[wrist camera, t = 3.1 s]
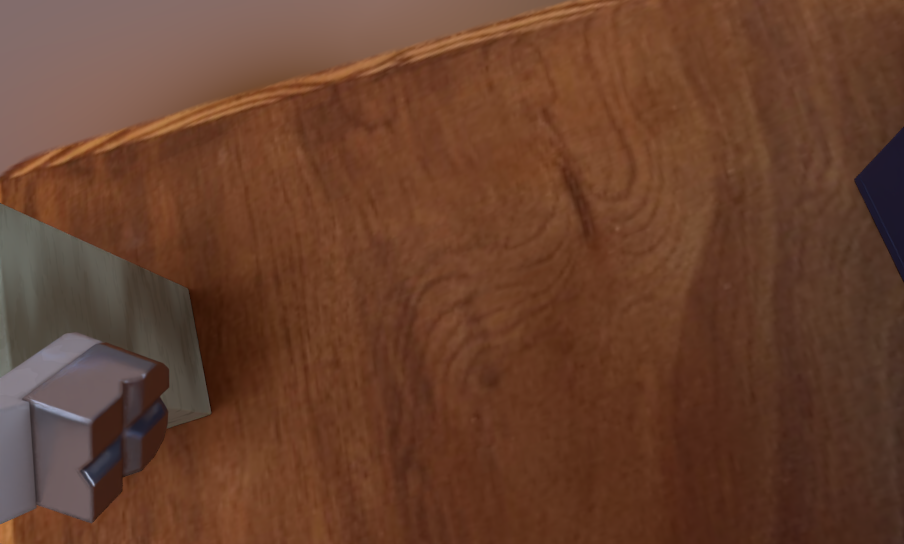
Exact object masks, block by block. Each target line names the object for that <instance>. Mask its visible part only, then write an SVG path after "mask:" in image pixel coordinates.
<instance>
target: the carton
mask: <svg viewBox="0 0 904 544" xmlns="http://www.w3.org/2000/svg"><path fill="white" fill-rule="evenodd" d="M854 180H855V183H856V185H857V187H858V189H859V191H860V193H861V195H862V197H863V199H864V201H865V203H866V205H867V207H868V209H869V211H870V213H871V215H872V217H873V219H874V221H875V224H876V226H877V228H878V230H879V232H880V234H881V236H882V238H883V240H884V242H885V244H886V246H887V248H888V250H889V252H890V254H891V256H892V258H893V260H894V262H895V265H896V267H897V269H898V271H899V273H900V275H901V277H902V279H903V281H904V127H903V128H902V129H901V130H900V131H899V132H898V133H897V134H896V136H895V137H894V138H893V139H892V140H891V141H890V142H889V143H888V144H887V145H886V146H885V147H884V148H883V149H882V150H881V152H880V153H879V154H878V155H877V156H876V157H875V158H874V159H873V160H872V161H871V162H870V163H869V164H868V165H867V166H866V167H865V169H864V170H863V171H862V172H861V173H860V174H859V175H858V176H857V177H856V178H855V179H854Z"/></svg>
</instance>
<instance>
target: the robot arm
mask: <svg viewBox="0 0 904 544" xmlns="http://www.w3.org/2000/svg"><path fill="white" fill-rule="evenodd" d="M168 388H169V368H168V367H167V366H166V365H165V364H164V363H161V362H159V361H156V360H153V359H150V358H148V357H145V356H142V355H139V354H137V353H134V352H131V351H129V350H126V349H123V348H120V347H118V346H115V345H112V344H109V343H107V342H102V341H99V340H96V339H94V338H91V337H88V336H85V335H83V334H80V333H77V332H74V333H66V334H64V335H63V336H61V337H60V338H58V339H57V340H55V341H54V342H52V343H51V344H49V345H48V346H46V347H45V348H43V349H42V350H40V351H39V352H38V353H36V354H35V355H33V356H32V357H30V358H29V359H27V360H26V361H24V362H23V363H21V364H20V365H18V366H17V367H16V368H14V369H13V370H11V371H10V372H8V373H7V374H5V375H4V376H2V377H1V378H0V524H2V523H4V522H6V521H9V520H11V519H13V518H15V517H18V516H20V515H22V514H24V513H26V512H29V511H31V510H33V509H35V508H36V505H39V506H42V507H45V508H48V509H51V510H54V511H57V512H60V513H63V514H66V515H69V516H72V517H75V518H77V519H80V520H83V521H86V522H89V523H93V522H94V521H95V520H96V519H97V517H98V516H99V515H100V514H101V513H102V512H103V511H104V510H105V509H106V508H107V507H108V506H109V505H110V504H111V503H112V502H113V501H114V500H115V499H116V498H117V497H118V495H119V494H120V493H121V492H122V486H123V477H126V476H128V475H131V474H134V473H137V472H140V471H142V470H143V469H144V468H145V467H146V466H147V465H148V463H149V462H150V461H151V460H152V459H153V458H154V456H155V455H156V453H157V451H158V449H159V447H160V445H161V444H162V442H163V440H164V437H165V433H166V429H167V425H168V409H167V408H166V406H165V404H164V403H163V401H162V399H161V397H160V396H161V395H162V394H163V393H164V392H165V391H166V390H167V389H168Z"/></svg>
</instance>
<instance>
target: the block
mask: <svg viewBox="0 0 904 544" xmlns="http://www.w3.org/2000/svg"><path fill="white" fill-rule="evenodd" d="M74 332H77V333H80V334H83V335H85V336H88V337H91V338H94V339H96V340H99V341H102V342H107V343H109V344H112V345H115V346H118V347H120V348H123V349H126V350H129V351H131V352H134V353H137V354H139V355H142V356H145V357H148V358H150V359H153V360H156V361H159V362H161V363H164V364H165V365H166V366H167V367H168V368H169V388H168V389H167V390H166V391H165V392H164V393H163V394H162V395H161V396H160V397H161V399H162V401H163V403H164V404H165V406H166V408H167V409H168V425H167V428H170V427H173V426H176V425H180V424H183V423H186V422H189V421H192V420H195V419H198V418H201V417H205V416H208V415H210V414H211V408H210V403H209V398H208V392H207V387H206V382H205V376H204V371H203V366H202V360H201V355H200V350H199V344H198V339H197V333H196V328H195V323H194V317H193V312H192V307H191V301H190V296H189V291H188V288H186V287H184V286H181V285H179V284H177V283H175V282H173V281H170V280H168V279H166V278H164V277H162V276H159V275H157V274H155V273H153V272H151V271H148V270H146V269H144V268H142V267H140V266H137V265H135V264H133V263H131V262H129V261H126V260H124V259H122V258H120V257H117V256H115V255H113V254H111V253H109V252H106V251H104V250H102V249H100V248H98V247H95V246H93V245H91V244H89V243H87V242H84V241H82V240H80V239H78V238H76V237H73V236H71V235H69V234H67V233H65V232H62V231H60V230H58V229H56V228H54V227H51V226H49V225H47V224H45V223H43V222H40V221H38V220H36V219H34V218H32V217H29V216H27V215H25V214H23V213H21V212H18V211H16V210H14V209H12V208H10V207H7V206H5V205H3V204H1V203H0V378H1V377H2V376H4V375H5V374H7V373H8V372H10V371H11V370H13V369H14V368H16V367H17V366H18V365H20V364H21V363H23V362H24V361H26V360H27V359H29V358H30V357H32V356H33V355H35V354H36V353H38V352H39V351H40V350H42V349H43V348H45V347H46V346H48V345H49V344H51V343H52V342H54V341H55V340H57V339H58V338H60V337H61V336H63V335H64V334H66V333H74Z"/></svg>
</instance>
